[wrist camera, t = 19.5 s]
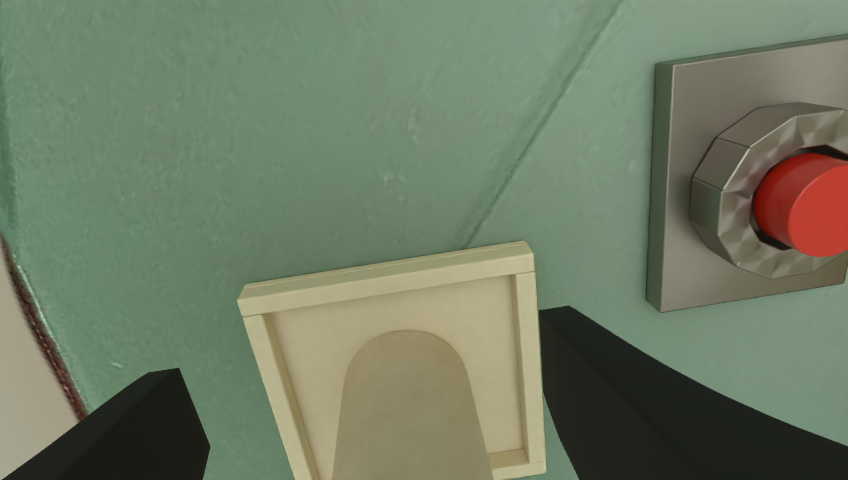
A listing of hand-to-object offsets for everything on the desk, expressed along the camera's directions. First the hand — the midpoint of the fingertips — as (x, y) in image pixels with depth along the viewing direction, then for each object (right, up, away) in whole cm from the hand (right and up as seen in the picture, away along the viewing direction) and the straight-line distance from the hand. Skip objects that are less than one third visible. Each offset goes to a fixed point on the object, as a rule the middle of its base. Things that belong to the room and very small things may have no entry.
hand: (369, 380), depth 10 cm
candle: (0, -3, +12) cm, 13 cm away
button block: (+14, +5, +10) cm, 18 cm away
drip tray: (0, -3, +13) cm, 13 cm away
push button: (+14, +4, +8) cm, 17 cm away
